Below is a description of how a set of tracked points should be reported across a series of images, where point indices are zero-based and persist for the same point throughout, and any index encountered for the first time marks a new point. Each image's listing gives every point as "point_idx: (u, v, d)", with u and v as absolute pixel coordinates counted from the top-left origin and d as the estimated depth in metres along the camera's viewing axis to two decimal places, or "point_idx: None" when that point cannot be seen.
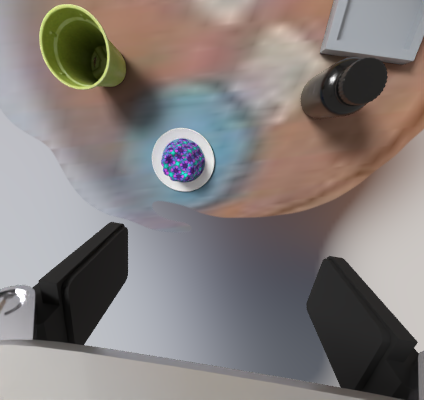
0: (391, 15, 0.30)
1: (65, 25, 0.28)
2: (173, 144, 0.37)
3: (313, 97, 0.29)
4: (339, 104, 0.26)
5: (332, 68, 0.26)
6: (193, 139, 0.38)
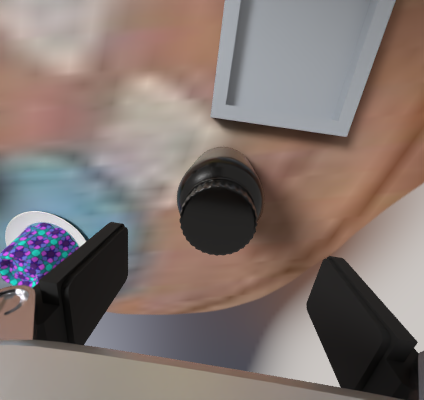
0: (309, 66, 0.19)
1: None
2: (26, 233, 0.26)
3: None
4: None
5: (187, 175, 0.15)
6: (58, 224, 0.27)
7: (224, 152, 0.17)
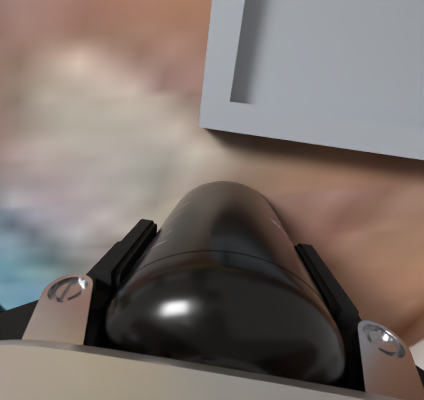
0: (410, 20, 0.09)
1: None
2: None
3: None
4: None
5: (111, 313, 0.05)
6: None
7: (227, 213, 0.07)
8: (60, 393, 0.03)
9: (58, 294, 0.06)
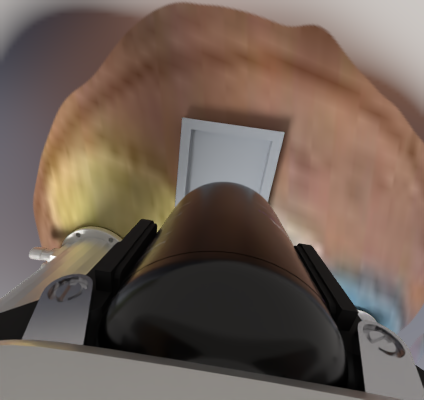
0: (234, 162, 0.29)
1: None
2: None
3: None
4: None
5: (111, 314, 0.05)
6: None
7: (227, 214, 0.07)
8: (60, 393, 0.03)
9: (58, 294, 0.06)
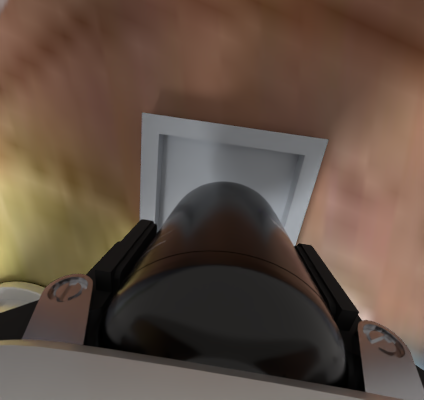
0: None
1: None
2: None
3: None
4: None
5: (110, 313, 0.05)
6: None
7: (228, 213, 0.07)
8: (60, 393, 0.03)
9: (58, 294, 0.06)
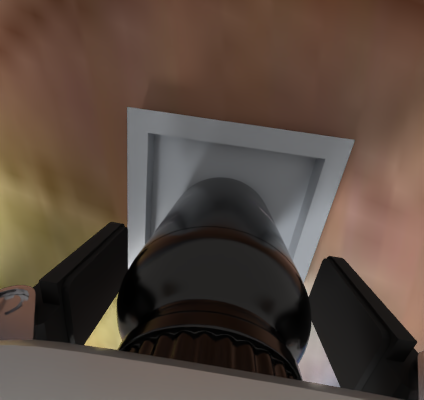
0: None
1: None
2: None
3: None
4: None
5: (133, 271, 0.06)
6: None
7: (223, 202, 0.09)
8: (60, 393, 0.03)
9: None
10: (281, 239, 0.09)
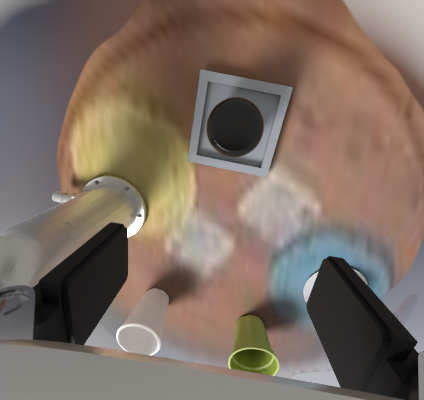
0: None
1: (234, 358, 0.42)
2: None
3: None
4: None
5: (215, 107, 0.23)
6: None
7: None
8: (60, 393, 0.03)
9: None
10: None
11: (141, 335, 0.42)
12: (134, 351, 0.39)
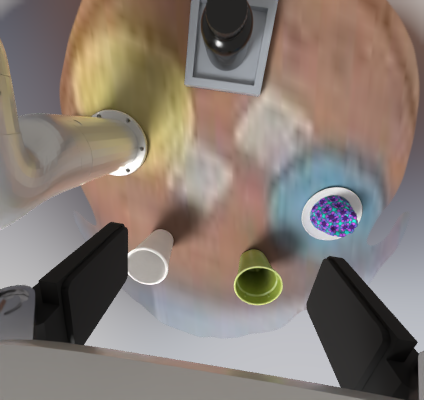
0: None
1: (240, 286, 0.43)
2: (316, 218, 0.42)
3: None
4: (217, 40, 0.26)
5: None
6: (317, 199, 0.43)
7: None
8: (60, 393, 0.03)
9: None
10: None
11: (148, 269, 0.43)
12: (143, 280, 0.41)
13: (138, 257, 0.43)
